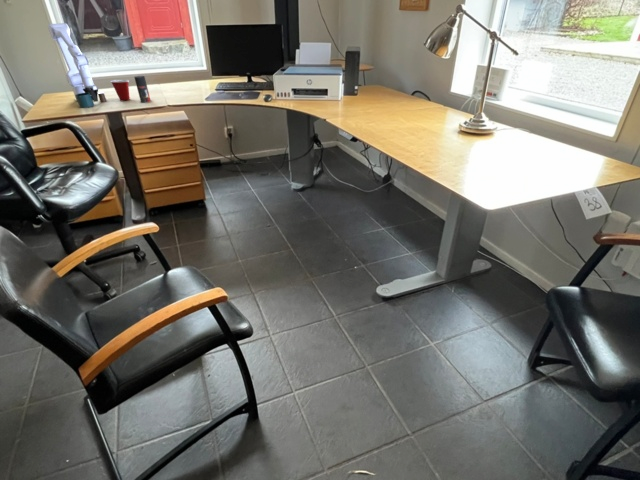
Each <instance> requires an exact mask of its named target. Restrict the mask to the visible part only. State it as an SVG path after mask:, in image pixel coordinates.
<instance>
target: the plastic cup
mask: <svg viewBox="0 0 640 480" xmlns="http://www.w3.org/2000/svg"><path fill="white" fill-rule="evenodd" d="M129 82H130V80H129V79H114V80H110V83H111V85H112V86H113V88H114V91H115V92H116V95H117V97H118V99H119V100H120V101H122V102H123V101H129V100H130V87H129Z"/></svg>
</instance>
